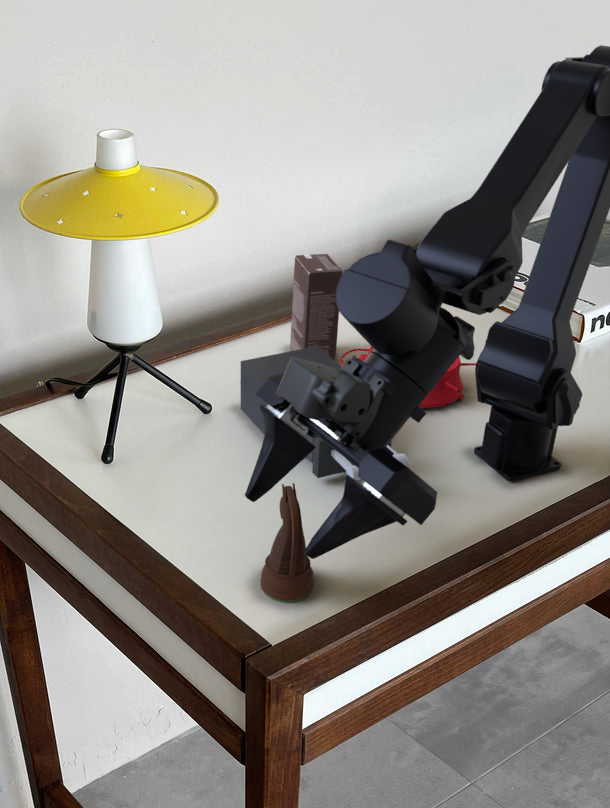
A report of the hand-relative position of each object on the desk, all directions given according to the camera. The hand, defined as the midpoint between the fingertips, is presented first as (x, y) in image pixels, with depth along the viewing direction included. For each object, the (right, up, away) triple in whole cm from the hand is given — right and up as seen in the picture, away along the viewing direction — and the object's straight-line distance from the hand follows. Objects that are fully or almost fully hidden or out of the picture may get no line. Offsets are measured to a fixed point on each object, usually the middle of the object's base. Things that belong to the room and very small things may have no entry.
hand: (277, 526), depth 83 cm
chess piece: (+1, -5, +5) cm, 7 cm away
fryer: (+4, +11, +28) cm, 30 cm away
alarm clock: (+16, +16, +35) cm, 42 cm away
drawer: (+7, +7, +20) cm, 23 cm away
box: (+6, +20, +41) cm, 46 cm away
